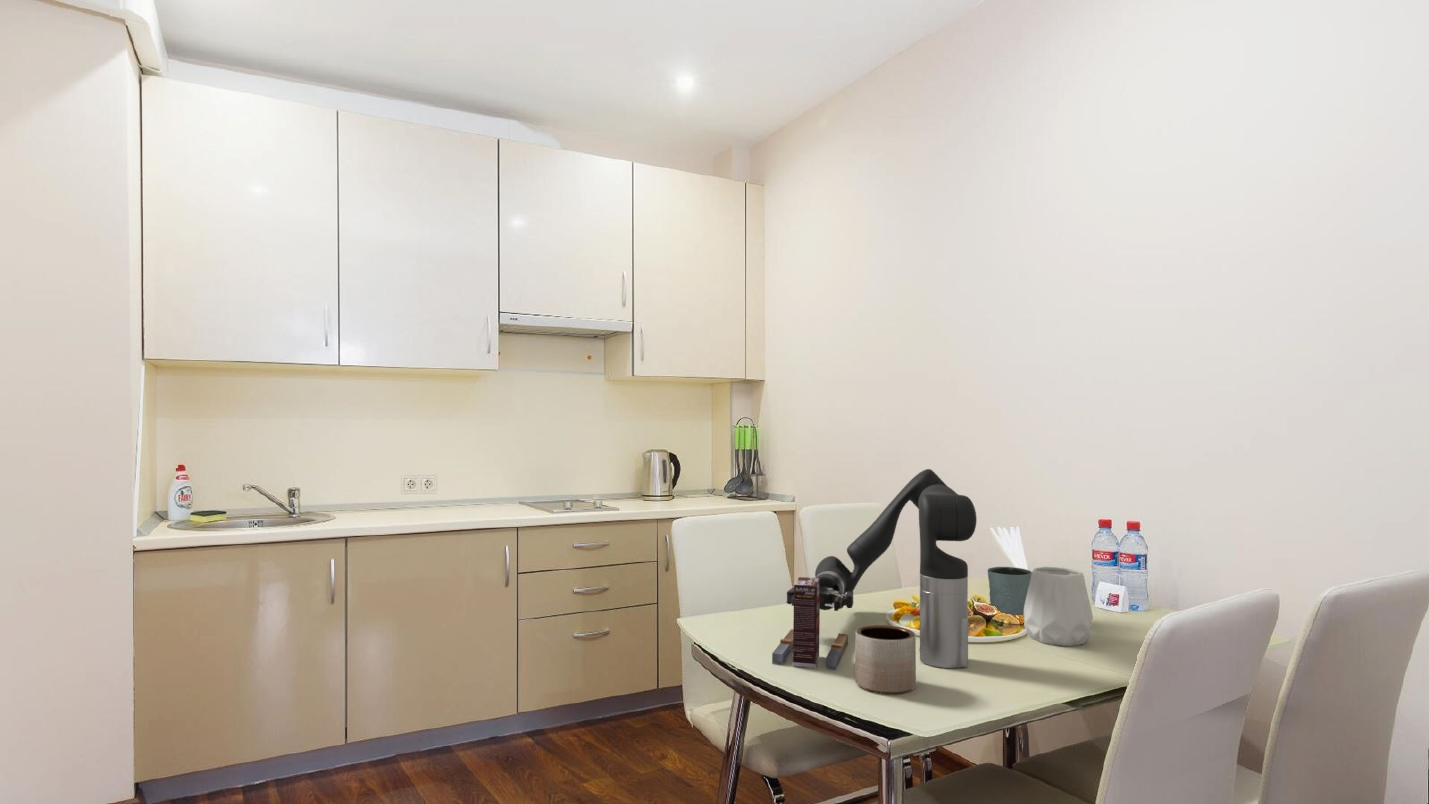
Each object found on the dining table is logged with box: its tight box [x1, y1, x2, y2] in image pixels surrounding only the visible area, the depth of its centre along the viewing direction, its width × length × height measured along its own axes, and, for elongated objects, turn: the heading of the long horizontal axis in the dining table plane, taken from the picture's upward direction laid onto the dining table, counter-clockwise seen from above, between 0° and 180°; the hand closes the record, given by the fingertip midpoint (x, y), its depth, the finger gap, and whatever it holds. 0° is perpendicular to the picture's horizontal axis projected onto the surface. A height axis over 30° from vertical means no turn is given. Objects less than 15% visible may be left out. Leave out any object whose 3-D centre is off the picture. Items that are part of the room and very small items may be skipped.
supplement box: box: [791, 576, 821, 669], centre depth 159 cm, size 9×5×16 cm, turn 168°
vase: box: [1023, 566, 1094, 647], centre depth 176 cm, size 14×14×15 cm
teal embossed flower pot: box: [987, 566, 1032, 615], centre depth 193 cm, size 10×10×12 cm
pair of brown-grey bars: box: [771, 628, 849, 671], centre depth 164 cm, size 12×19×3 cm, turn 163°
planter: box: [854, 624, 917, 695], centre depth 145 cm, size 11×11×10 cm
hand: (815, 604), depth 168 cm, fingers open, 8 cm apart
